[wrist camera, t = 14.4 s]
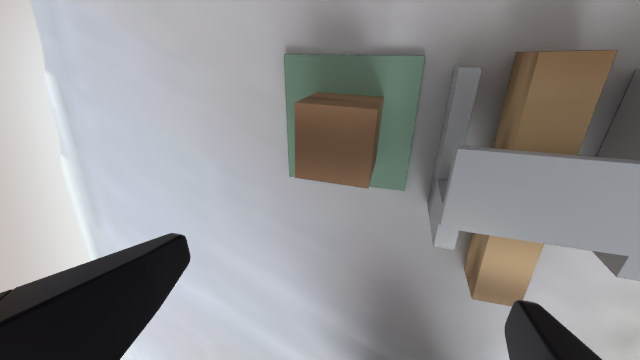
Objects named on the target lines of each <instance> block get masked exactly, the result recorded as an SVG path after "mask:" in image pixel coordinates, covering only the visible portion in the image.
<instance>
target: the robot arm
mask: <svg viewBox="0 0 640 360" xmlns="http://www.w3.org/2000/svg"><path fill="white" fill-rule="evenodd" d="M189 262H190V252H189V248H188V244H187V240H186V237H185V236H184V235H181V234H176V233H170V234H167V235H164V236H161V237H158V238H156V239H153V240H150V241H147V242H144V243H141V244H139V245H136V246H133V247H130V248H127V249H124V250H121V251H119V252H116V253H113V254H110V255H107V256H104V257H102V258H99V259H96V260H93V261H90V262H87V263H85V264H82V265H79V266H76V267H73V268H70V269H68V270H65V271H62V272H59V273H56V274H53V275H51V276H48V277H45V278H42V279H39V280H37V281H34V282H31V283H28V284H25V285H23V286H20V287H17V288H15V289H14V290H8V291H5V292H2V293H0V360H120V359H121V357H122V356H123V355H124V354H125V352H126V351H127V350H128V348H129V347H130V346H131V345H132V343H133V342H134V341H135V339H136V338H137V337H138V336H139V334H140V333H141V332H142V330H143V329H144V328H145V327H146V325H147V324H148V323H149V321H150V320H151V319H152V318H153V316H154V315H155V314H156V312H157V311H158V310H159V308H160V307H161V305H162V304H163V302H164V301H165V299H166V298H167V296H168V295H169V293H170V292H171V290H172V289H173V287H174V286H175V284H176V283H177V281H178V280H179V278H180V276H181V275H182V273H183V272H184V270H185V269H186V267H187V266H188V264H189ZM505 338H506V343H507V348H508V353H509V359H510V360H602V359H601V358H600V357H599V356H598V355H596V354H595V353H594V352H593V351H592V350H591V349H590V348H588V347H587V346H586V345H585V344H584V343H583V342H582V341H580V340H579V339H578V338H577V337H576V336H575V335H574V334H572V333H571V332H570V331H569V330H568V329H567V328H566V327H564V326H563V325H562V324H561V323H560V322H559V321H558V320H556V319H555V318H554V317H553V316H552V315H551V314H550V313H548V312H547V311H546V310H545V309H544V308H543V307H542V306H540V305H539V304H537V303H534V302H528V301H523V300H516V301H515V302H514V304H513V306H512V308H511V311H510V313H509V316H508V318H507V321H506V324H505Z"/></svg>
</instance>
